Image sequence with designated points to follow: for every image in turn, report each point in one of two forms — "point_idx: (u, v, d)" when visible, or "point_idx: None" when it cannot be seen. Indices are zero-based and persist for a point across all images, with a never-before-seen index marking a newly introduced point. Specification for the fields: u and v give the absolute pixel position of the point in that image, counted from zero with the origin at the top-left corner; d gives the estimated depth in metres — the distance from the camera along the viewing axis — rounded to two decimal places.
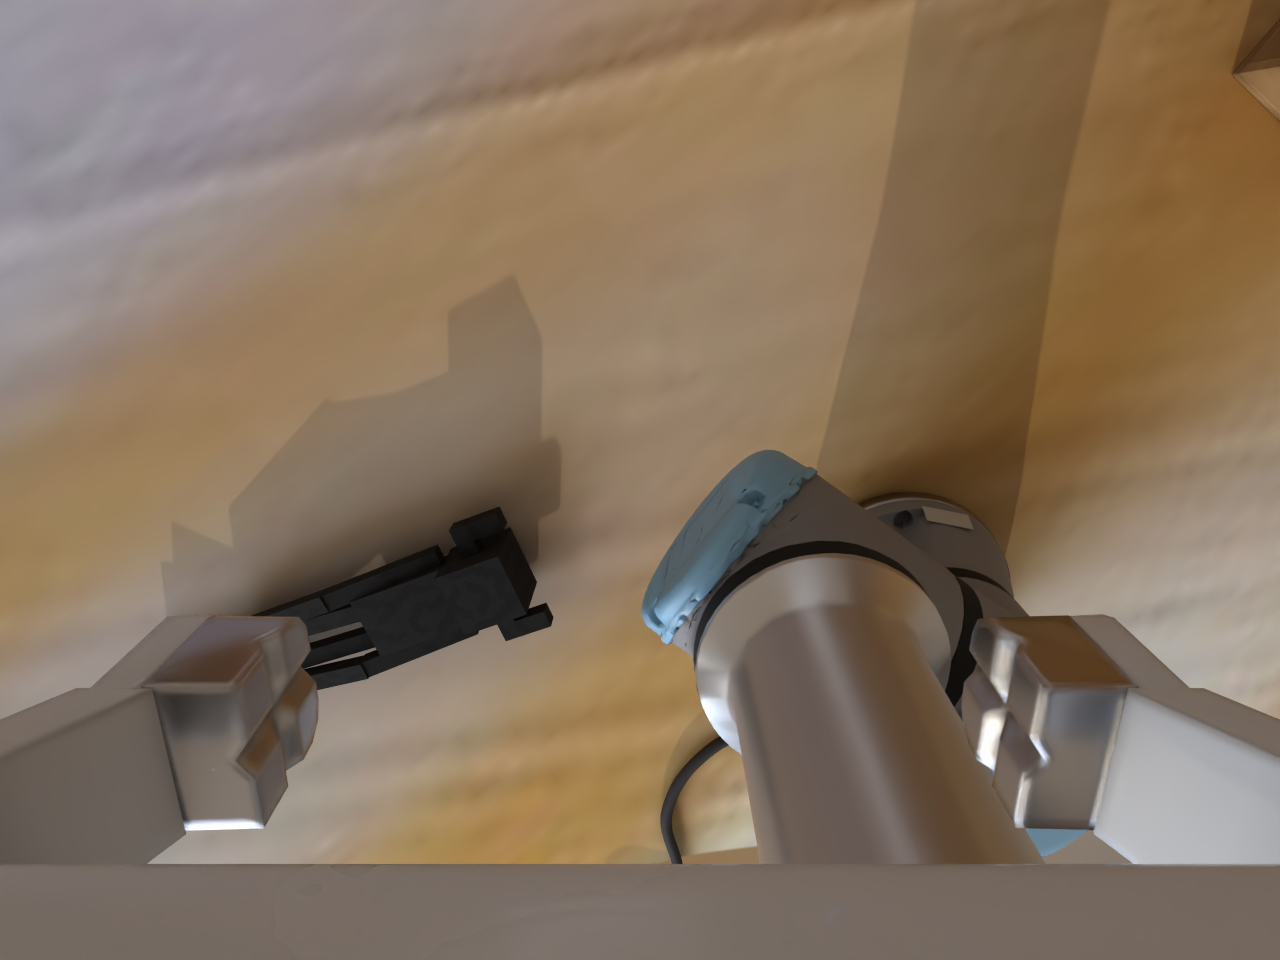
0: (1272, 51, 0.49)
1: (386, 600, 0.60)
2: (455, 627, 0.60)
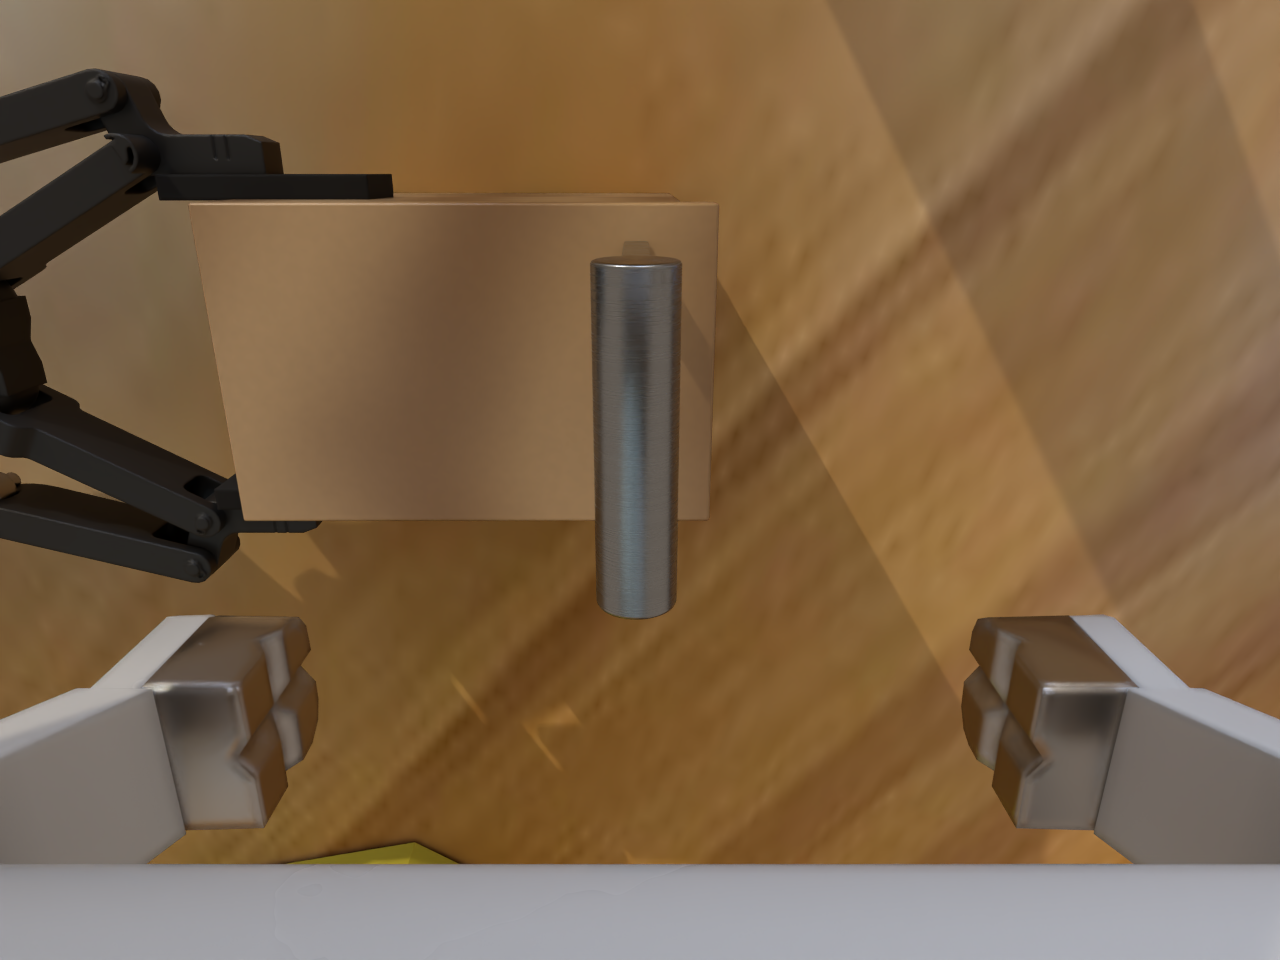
0: None
1: None
2: None
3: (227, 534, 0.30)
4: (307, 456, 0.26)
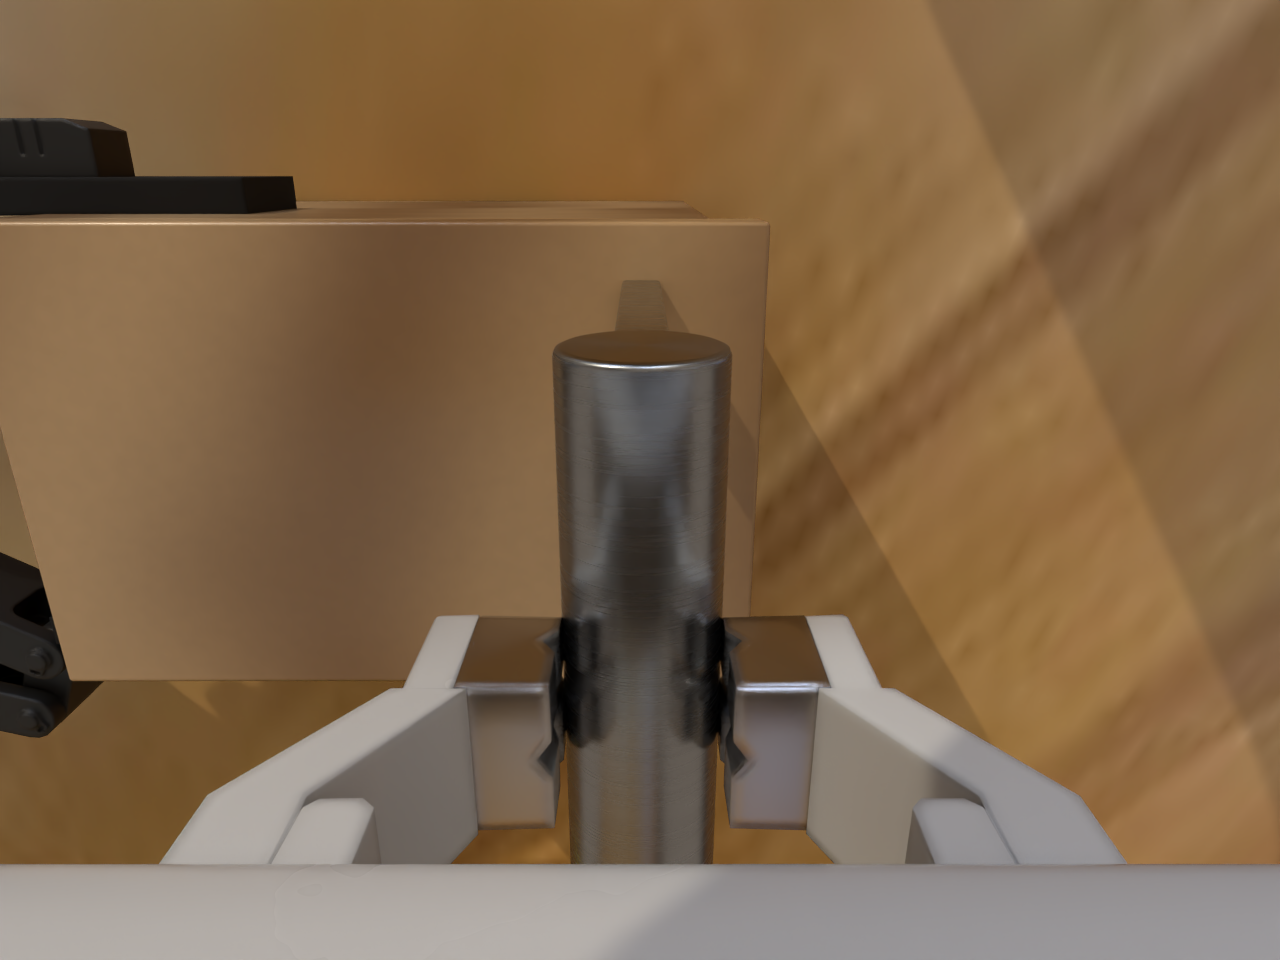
0: None
1: None
2: None
3: None
4: (156, 592, 0.18)
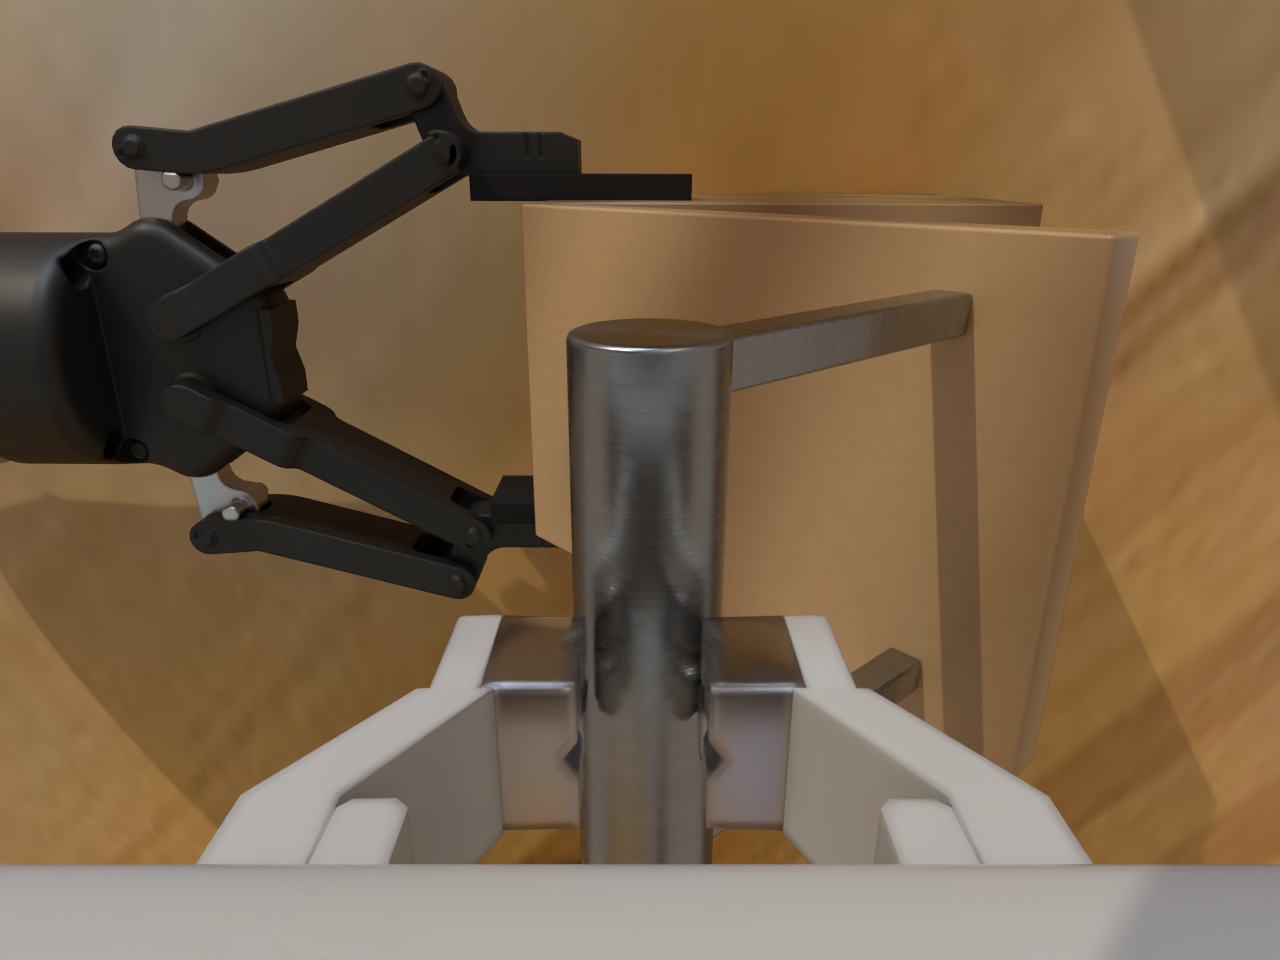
0: None
1: None
2: None
3: (491, 549, 0.29)
4: None
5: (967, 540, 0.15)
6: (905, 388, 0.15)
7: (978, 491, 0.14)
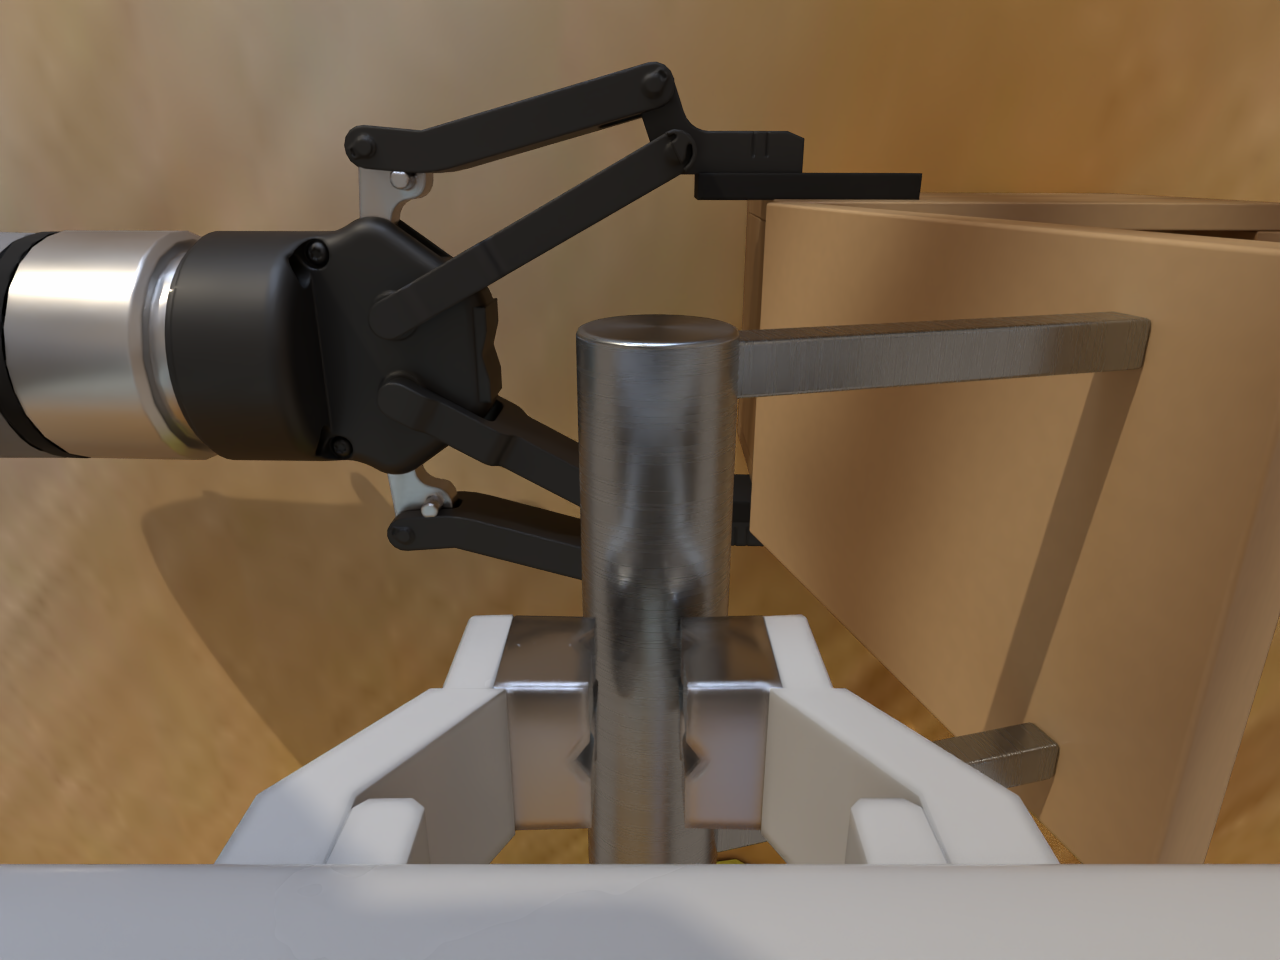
0: None
1: None
2: None
3: None
4: (785, 491, 0.23)
5: (1120, 615, 0.12)
6: (1073, 424, 0.13)
7: (1137, 557, 0.12)
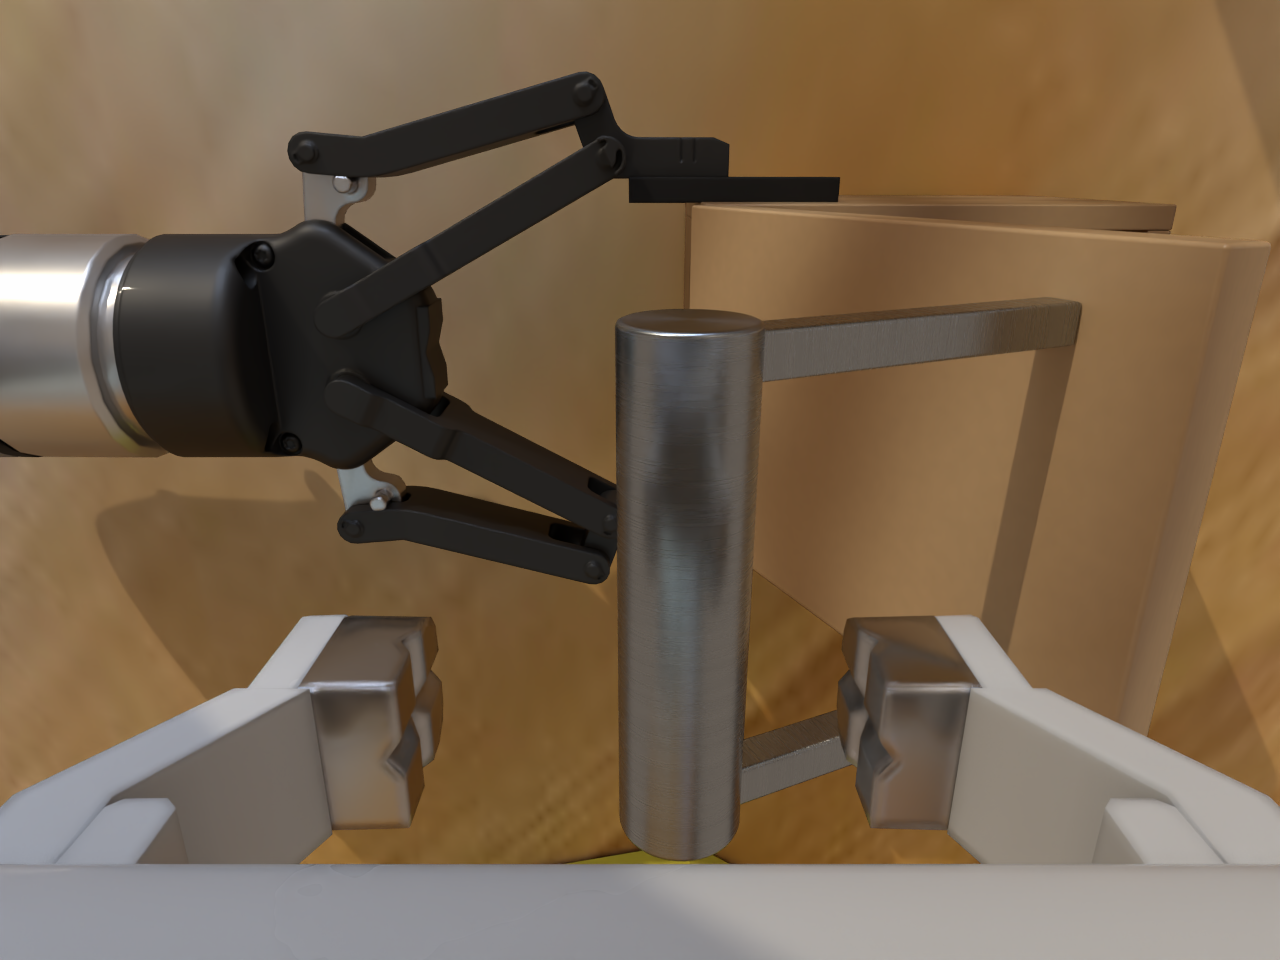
0: None
1: None
2: None
3: None
4: None
5: (1064, 559, 0.14)
6: (1014, 396, 0.15)
7: (1077, 507, 0.14)
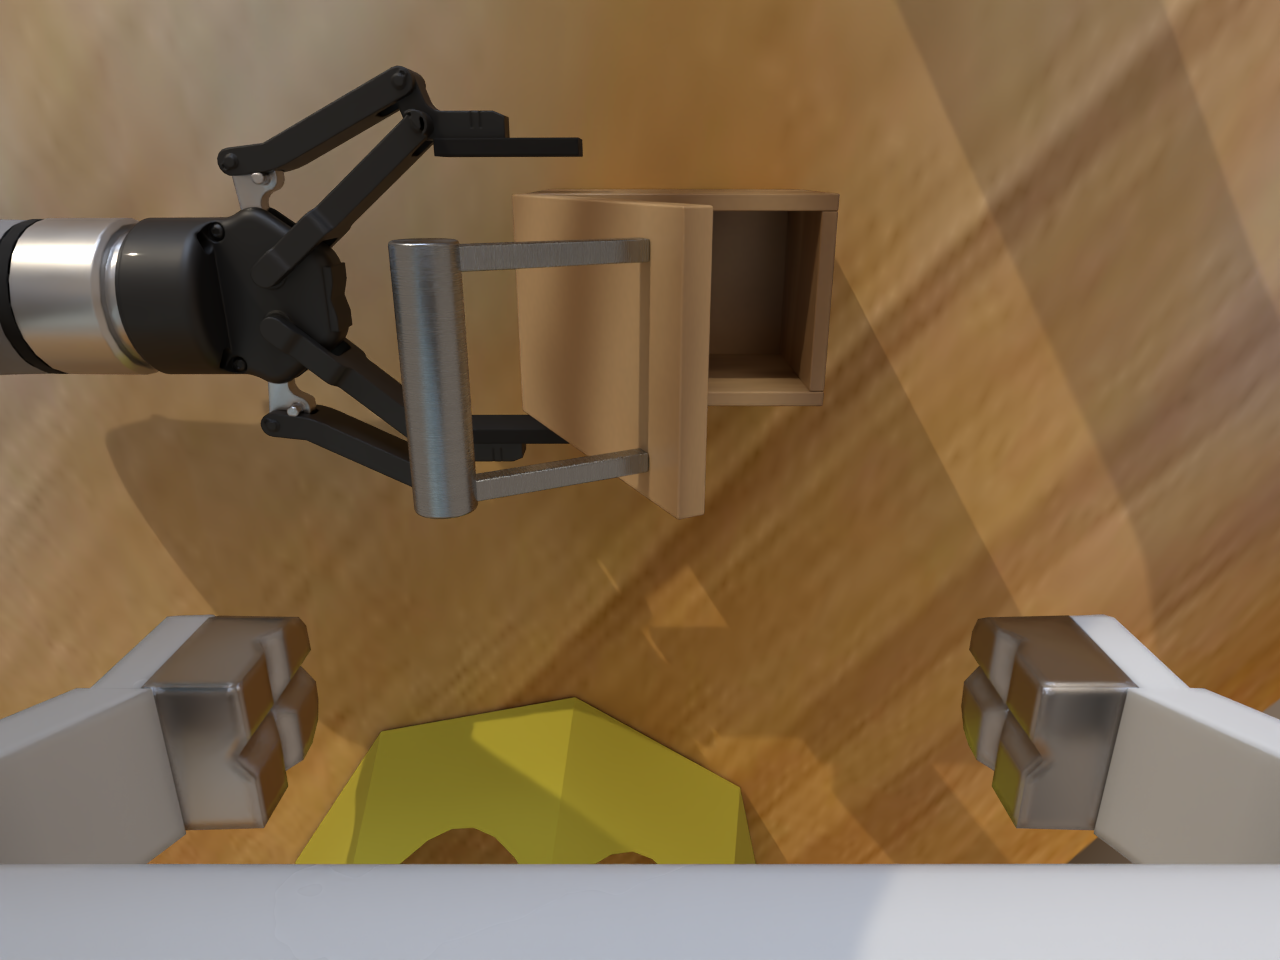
0: None
1: None
2: None
3: None
4: (538, 375, 0.37)
5: (657, 377, 0.27)
6: (635, 293, 0.27)
7: (658, 348, 0.26)
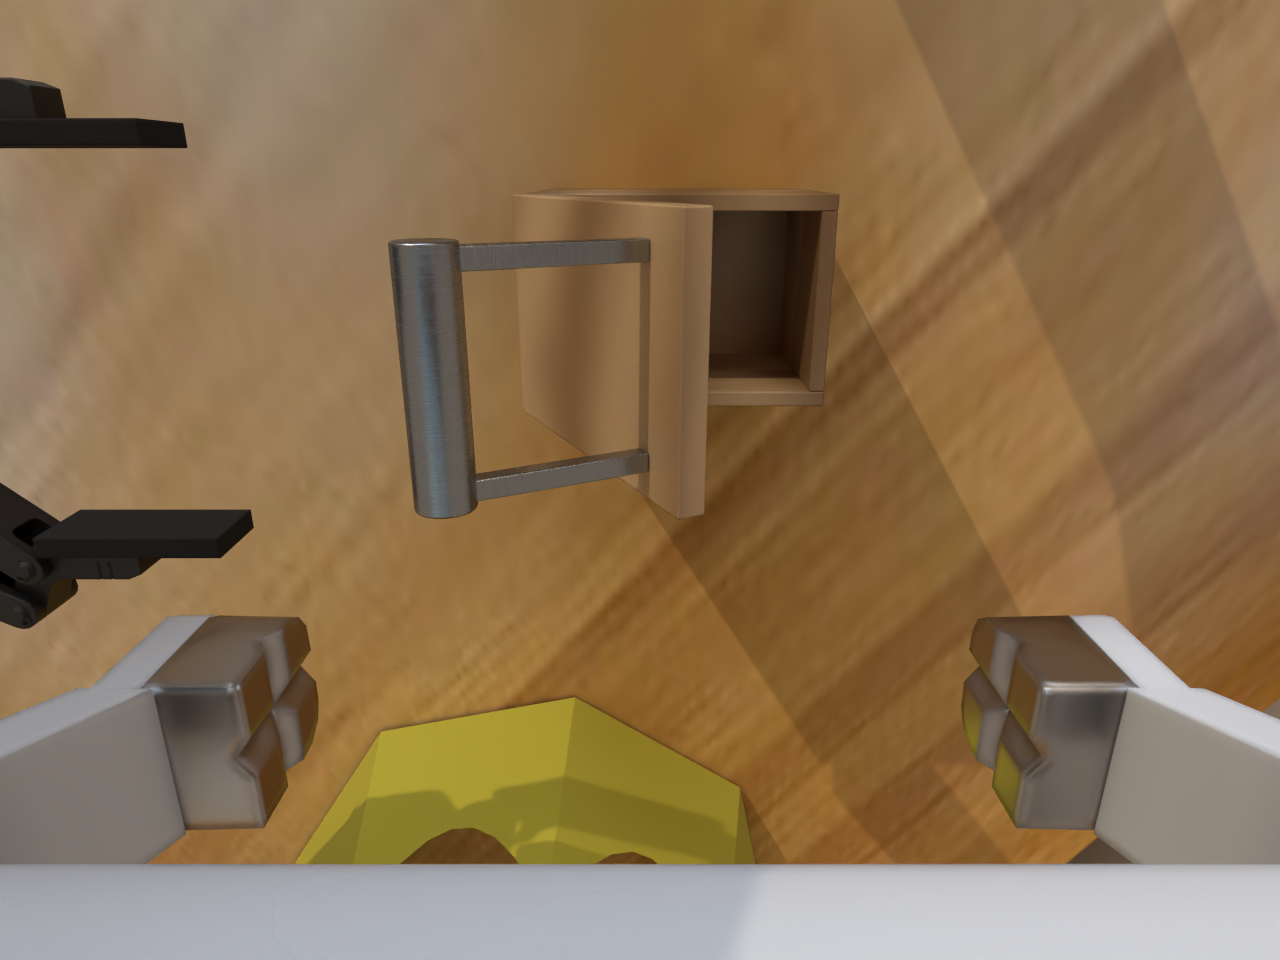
0: None
1: None
2: None
3: (53, 581, 0.31)
4: (538, 374, 0.37)
5: (657, 377, 0.27)
6: (635, 293, 0.27)
7: (658, 348, 0.26)
